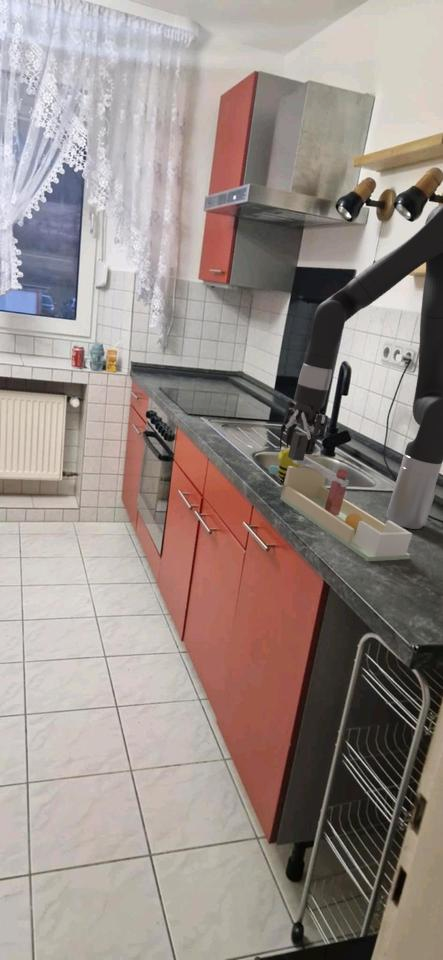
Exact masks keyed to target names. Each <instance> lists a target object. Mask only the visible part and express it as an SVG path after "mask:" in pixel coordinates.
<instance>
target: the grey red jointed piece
mask: <svg viewBox="0 0 443 960" xmlns="http://www.w3.org/2000/svg"><path fill="white" fill-rule="evenodd" d="M307 439H308V438H307V433H305V432H299V431H296V432H294V433H293V437H292V441H291V444H289V445H290V446H289V448H290V450H289V454H288V457H289V458H291V459H292V460H293V462H294V463H295V464H300V465H304V467H309V468H311V469H312V470H314V471H316V472H317V473H319V474H321V475H322V476H324V477H326V479H327V480H329V481H331V484H330V487H329V490H330V491H329V495H328V498H327V502H326V506H325V510H326V511H328V512H329V513H331V514H332V515H339V513H340V509H341V505H342V502H343V499H345V494H346V489H347V487H348V485H349V482H350V481H349V479H347V477H348V471H347V470H346V469H345V468H340V469H338V470H337V471H336V472H334V471H333V470H331V469H329V468H327V467H325V466H324V465H322V464H320V463H318V462H317V461H315V460H313V459H311V458H310V457H308V456H307V455H306V454H304V449H305V444H306V440H307Z"/></svg>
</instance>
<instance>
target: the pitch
mask: <svg viewBox="0 0 443 960" xmlns="http://www.w3.org/2000/svg"><path fill="white" fill-rule="evenodd" d="M326 479H327V478H326V477H324V476H322V475H321V474H319V473H317V472H316V471H314V470H312V469H311V468H309V467H307V466H298V467H296V466H288V468H287V473H286V477H285V481H284V482H283V485H282V490H281V495H280V499H279V500H280V501H282V502H284V503H285V504H286V505H288V506H289V507H291V508H292V509H294V510H295V511H296V512H298V513H299V514H301V516H304V518H306V519H307V520H309V522H311V523H313V524H315V526H317V527H319V528H320V529H321V530H323V531H324V532H326V533H327V534H329V535H330V536H331V537H333V538H334V539H336V540H337V541H339V542H340V543H341V544H342V545H344V546H345V547H347V548H348V549H350V550H351V551H352V552H354V553H355V554H357V555H358V556H359V557H361V558H362V559H364V561H367V562H383V561H399V560H410V558H411V554H410V553H409V552H408V549H409V545H410V543H411V539H412V536H413V533H412V532H410V531H408V530H407V529H405V528H404V527H402V526H399V525H397V524H395V523H393V522H392V521H389V520H386V522H385V523H384V522H382V521H381V520H379V519H378V518H376V517H375V516H373V515H371V514H369V513H368V512H367V511H365V510H363V509H362V508H359V507H358V506H356V505H355V504H353V503H352V502H350V501H348V500H346V499H345V498H343V502H342V505H341V509H340V513H339V515H332V514H331V513H329V512H328V511H326V510H325V506H326V502H327V498H328V495H329V491H330V488H327V487H326V486H325V484H326V483H325V482H326ZM352 513H356V514H359V515H360V516H361V517H362V519H363V521H359V523H358V527H357V530H356V531H355V529H353V528H352V527H350V526H349V525H347V524H346V523H345V519H346V517H347V516H348V515H349V514H352Z"/></svg>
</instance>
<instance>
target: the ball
mask: <svg viewBox="0 0 443 960" xmlns="http://www.w3.org/2000/svg"><path fill="white" fill-rule="evenodd" d="M359 521H363V519H362V517H361V516H360V515H359V514H356V513H352V514H349V515H348V516H347V517H346V519H345V523H346V524H347V525H349V526H350V527H352V528H353V529H355V531H356V530H357V527H358V523H359Z"/></svg>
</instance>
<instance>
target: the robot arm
mask: <svg viewBox="0 0 443 960" xmlns="http://www.w3.org/2000/svg"><path fill="white" fill-rule="evenodd" d="M423 264H425V277H424V284H423V290H422V301H421V311H420V322H419V323H420V324H419V327H420V328H419V348H418V349H419V350H418V370H417V378H416V379H417V380H416V386H415V391H414V392H415V393H414V396H413V401H412V402H413V403H412V415H413V419H414V421H415V423H416V424H418V426H419V427H418V430H417V433H416V436H415V438H414V439H413V440H412V441H410V442H408V443H407V444H406V447H405V450H404V453H403V457H402V460H401V463H400V468H399V470H398V474H397V476H396V477H397V478H396V481H395V484H394V487H393V491H392V494H391V498H390V501H389V505H388V507H387V512H386V514H385V518H386V520H387V521H392V522H393V523H395V524H397V525H398V526H400V527H402V528H406V529H412V530H413V529H414V530H420V529H422V527H426V525H427V524H426V523H427V522H428V521H427V520H428V518H429V514H430V511H431V508H432V504H433V502H434V499H435V495H436V491H435V487H436V485H437V481H438V478H439V474H440V472H441V468H442V466H443V465H442V464H443V203H442V204H441V203H440V204H439V205H437V206H436V207H434V208H433V209H432V210H431V211H430V213H429V214H428V216H427V218H426V220H425V223H424V225H423V226H422V227H421V228H420V229H419V230H417V231H416V233H414V234H413V235H412V236H411V237H410V238H408V239H407V240H406V241H404V242H403V243H402V244H401V245H399V246H397V247H396V248H394V249H393V250H392V251H390V252H389V253H387V254H385V255H384V256H382V257H381V258H379V259H378V260H376V261H375V262H373V263H371V264H370V265H369V266H368V267H367V268H365V269H364V270H362V271H361V272H360V273H359V274H358V275H356V276H355V277H353V279H351V280H350V281H349V282H348V283H346V285H345V286H344V287H343V288H341V289H340V290H338V291H337V292H336V293H334V294H332V295H331V296H330V297H328V298H327V299H326V300H324V301H322V302H321V303H320V304H319V305H318V306H317V308H316V310H315V312H314V317H313V322H312V328H311V334H310V339H309V342H308V344H307V348H306V351H305V354H304V359H303V364H302V366H301V369H300V372H299V375H298V376H299V377H298V379H297V380H298V381H297V383H296V389H295V393H294V398H293V400H294V401H288V402H287V405H286V409H285V412H284V417H283V419H282V423H283V424H285V425H286V432H285V437H284V443H285V444H286V445H287V444H288V445H291V441H292V437H293V433H294V432H297V430H296V429H298V427H299V426H300V425H301V426H302V427H304V428H303V429H304V431H305V432H306V434H307V438H308V439H307V440H306V444H305V449H304V454H305V456H307V455H308V456H309V455H313V453H314V452H315V447H316V442H317V441H322V440H324V439H325V438H324V437H325V433H326V429H327V423H328V420H329V419H328V418H329V417H328V415H326V414H325V415H324V414H320V413H321V412H320V411H321V409H322V408H324V406H325V405H326V402H327V401H326V399H327V397H328V393H329V388H330V384H331V379H332V373H333V368H334V363H335V360H336V356H337V349H338V348H337V347H338V344H339V341H340V339H341V336H342V335H341V334H342V332H343V329H344V325H345V323H346V322H347V321H348V320H349V319H351V318H352V317H353V316H354V315H356V314H357V313H358V312H359V311H360V310H363V309H366V307H368V306H371V304H373V303H374V302H375V301H377V300H378V299H379V298H380V297H382V296H384V295H385V294H386V293H387V292H388V291H390V290H391V289H392V288H394V287H395V286H397V284H398V283H400V282H402V281H403V279H405V278H406V277H407V276H409V275H410V274H411V273H413V272H414V271H415V270H417V269H418V268H419V267H421V266H423ZM289 416H290V418H289ZM283 424H282V425H283Z"/></svg>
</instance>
